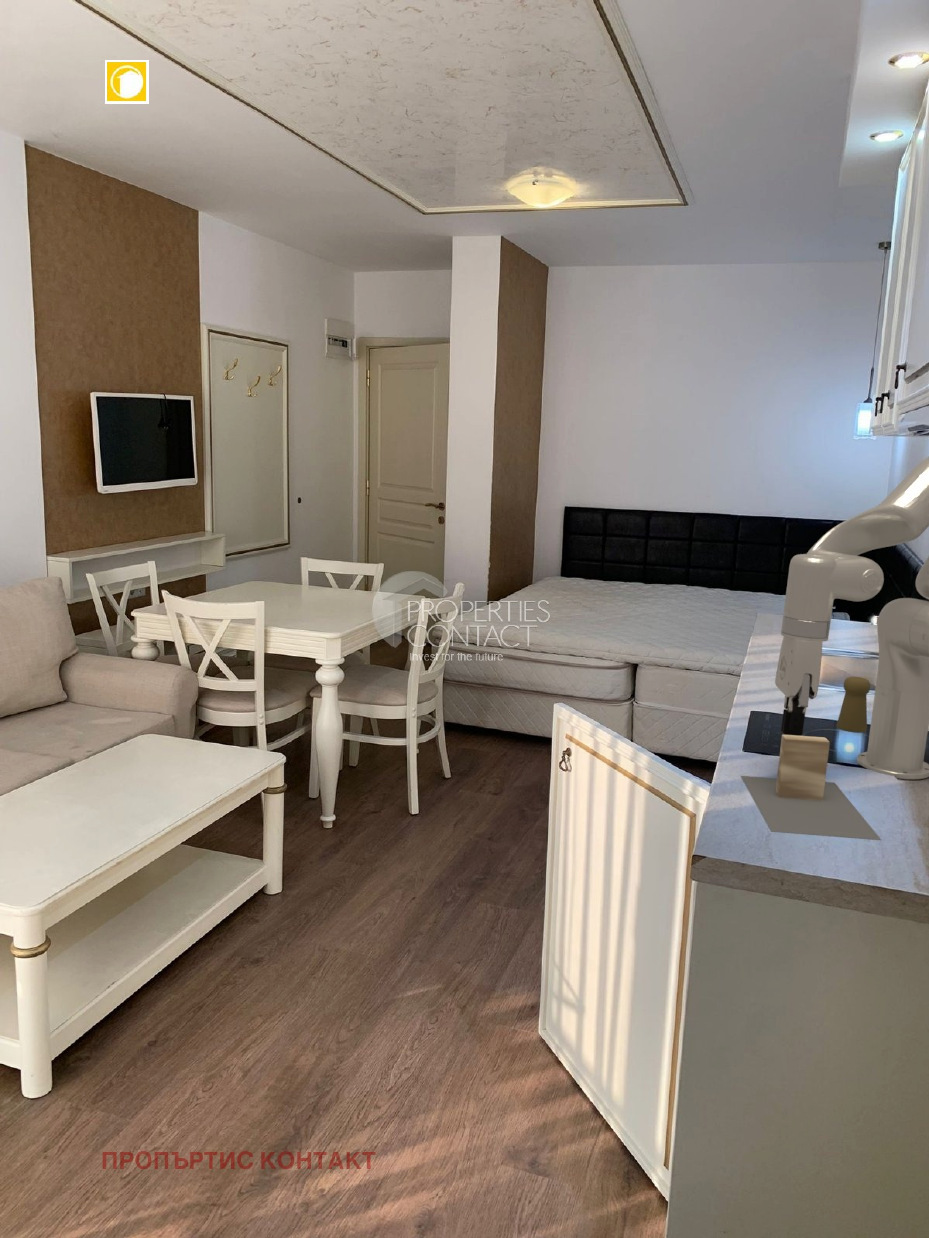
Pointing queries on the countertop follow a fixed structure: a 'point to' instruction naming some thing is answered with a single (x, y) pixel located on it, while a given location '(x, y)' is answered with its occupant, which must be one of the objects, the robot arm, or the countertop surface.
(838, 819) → the mat
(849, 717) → the olive brown pepper mill
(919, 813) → the countertop surface
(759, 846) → the countertop surface
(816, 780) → the card box
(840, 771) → the countertop surface
